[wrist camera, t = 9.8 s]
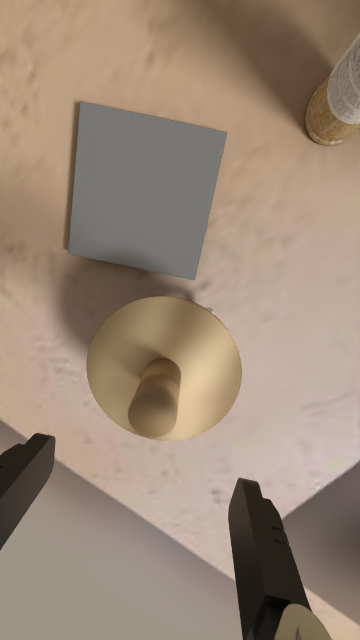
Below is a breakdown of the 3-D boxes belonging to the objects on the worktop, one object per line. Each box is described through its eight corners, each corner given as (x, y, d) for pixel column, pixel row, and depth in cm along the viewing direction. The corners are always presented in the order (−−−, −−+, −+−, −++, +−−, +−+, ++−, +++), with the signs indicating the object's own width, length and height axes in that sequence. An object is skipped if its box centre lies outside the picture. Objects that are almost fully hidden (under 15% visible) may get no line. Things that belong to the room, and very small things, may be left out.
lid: (257, 313, 17) (288, 338, 12) (220, 445, 20) (230, 516, 15) (98, 281, 18) (54, 291, 12) (84, 418, 21) (43, 477, 15)
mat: (225, 138, 20) (227, 132, 19) (194, 279, 23) (194, 280, 22) (85, 109, 20) (80, 101, 19) (73, 254, 23) (68, 253, 22)
